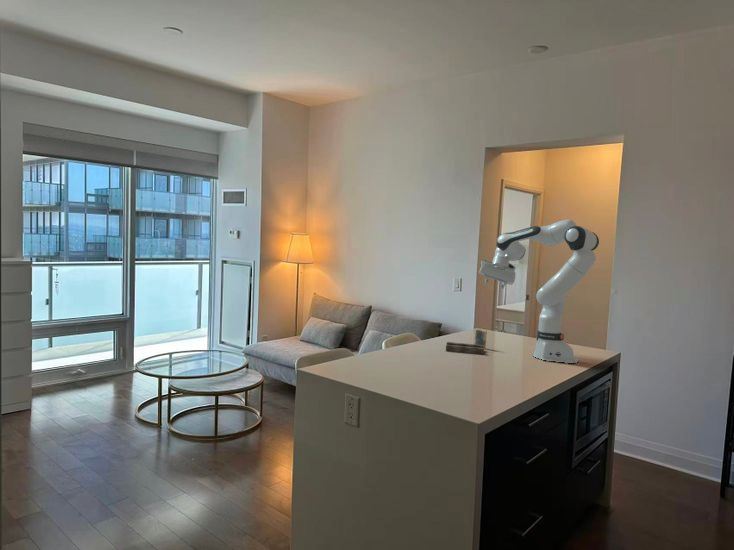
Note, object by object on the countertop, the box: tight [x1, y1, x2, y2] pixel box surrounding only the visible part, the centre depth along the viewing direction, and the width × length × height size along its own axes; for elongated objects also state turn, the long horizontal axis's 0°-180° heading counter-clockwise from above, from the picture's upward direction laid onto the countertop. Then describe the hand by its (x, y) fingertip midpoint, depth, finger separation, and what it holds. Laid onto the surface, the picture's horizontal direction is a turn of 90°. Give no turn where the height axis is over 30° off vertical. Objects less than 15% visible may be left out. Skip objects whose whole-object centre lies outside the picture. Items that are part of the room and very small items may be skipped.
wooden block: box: [474, 329, 488, 350], centre depth 300 cm, size 6×2×10 cm, turn 54°
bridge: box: [445, 341, 485, 355], centre depth 290 cm, size 20×10×3 cm, turn 79°
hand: (494, 285), depth 301 cm, fingers open, 8 cm apart
